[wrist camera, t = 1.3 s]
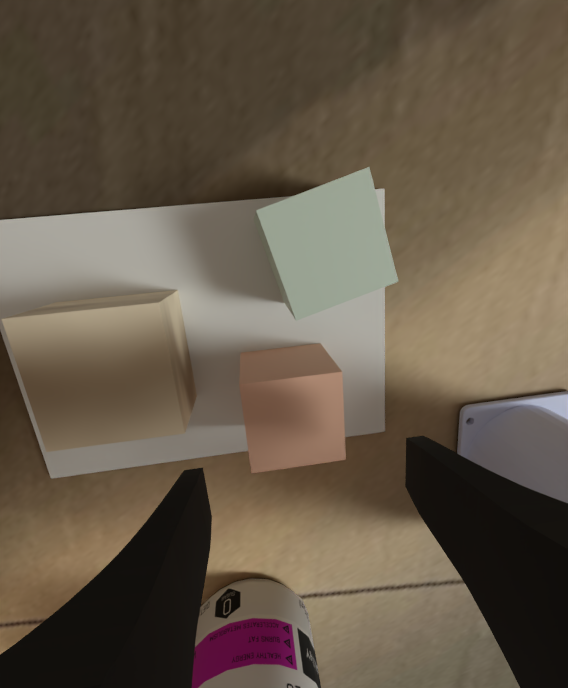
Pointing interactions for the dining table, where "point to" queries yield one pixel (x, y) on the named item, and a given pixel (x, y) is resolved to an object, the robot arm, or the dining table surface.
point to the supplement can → (254, 639)
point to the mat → (190, 314)
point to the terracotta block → (292, 407)
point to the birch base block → (105, 368)
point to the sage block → (327, 244)
